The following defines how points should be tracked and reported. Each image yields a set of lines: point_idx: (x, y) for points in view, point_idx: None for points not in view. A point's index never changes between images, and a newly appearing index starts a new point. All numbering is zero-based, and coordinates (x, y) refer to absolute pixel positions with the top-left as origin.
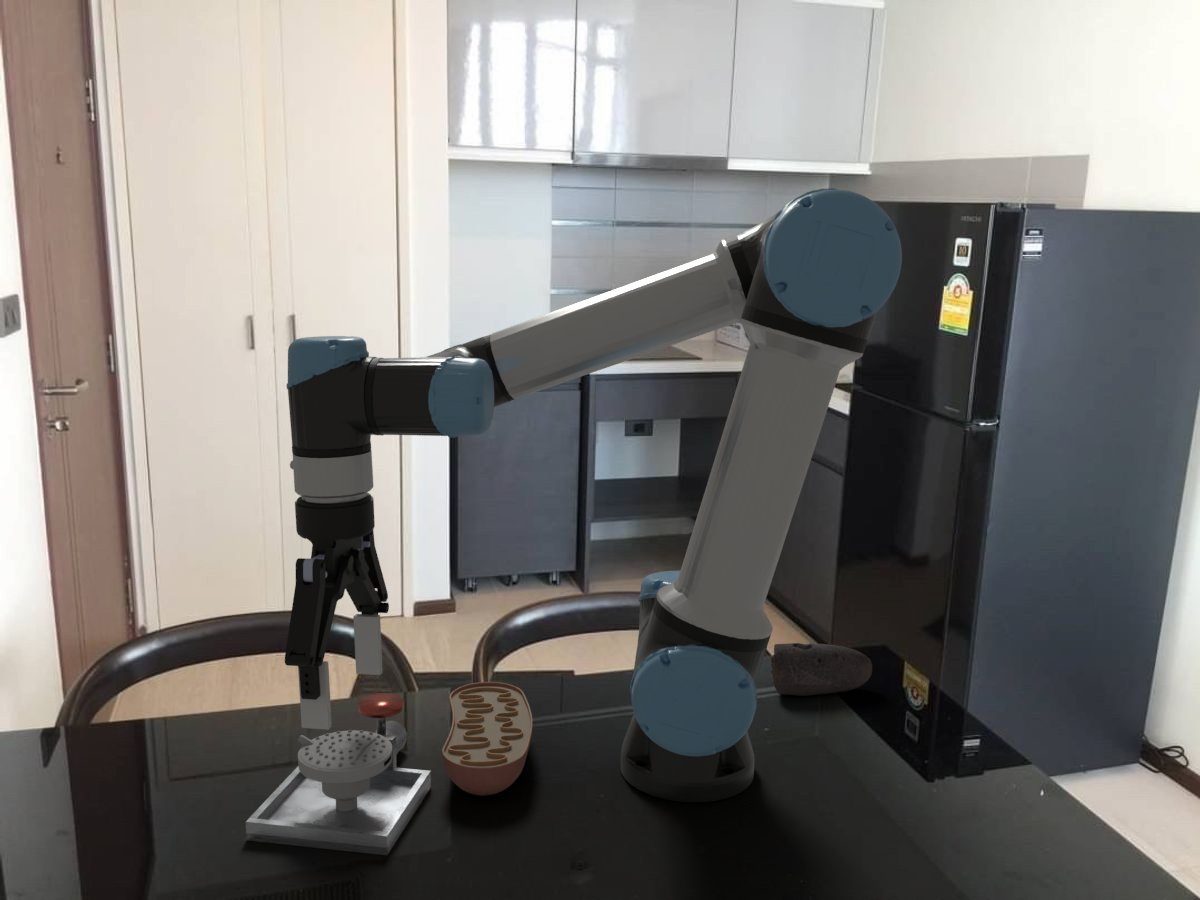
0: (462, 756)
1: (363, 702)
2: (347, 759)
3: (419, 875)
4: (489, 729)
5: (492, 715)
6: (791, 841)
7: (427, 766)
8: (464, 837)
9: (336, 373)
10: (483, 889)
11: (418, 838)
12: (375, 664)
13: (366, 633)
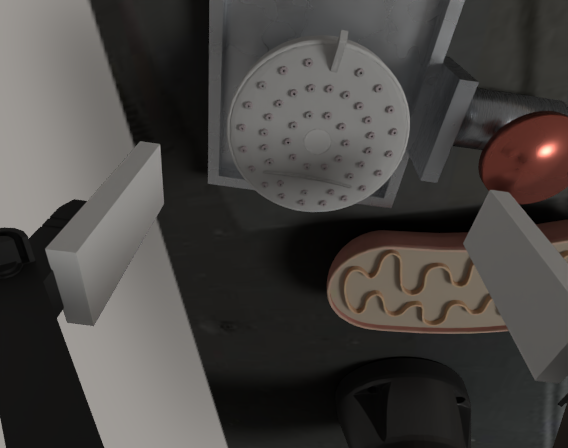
0: (361, 271)
1: (544, 128)
2: (263, 157)
3: (181, 209)
4: (458, 288)
5: None
6: (280, 427)
7: (456, 180)
8: (264, 241)
9: None
10: (172, 264)
11: (257, 197)
12: (478, 252)
13: (527, 302)
